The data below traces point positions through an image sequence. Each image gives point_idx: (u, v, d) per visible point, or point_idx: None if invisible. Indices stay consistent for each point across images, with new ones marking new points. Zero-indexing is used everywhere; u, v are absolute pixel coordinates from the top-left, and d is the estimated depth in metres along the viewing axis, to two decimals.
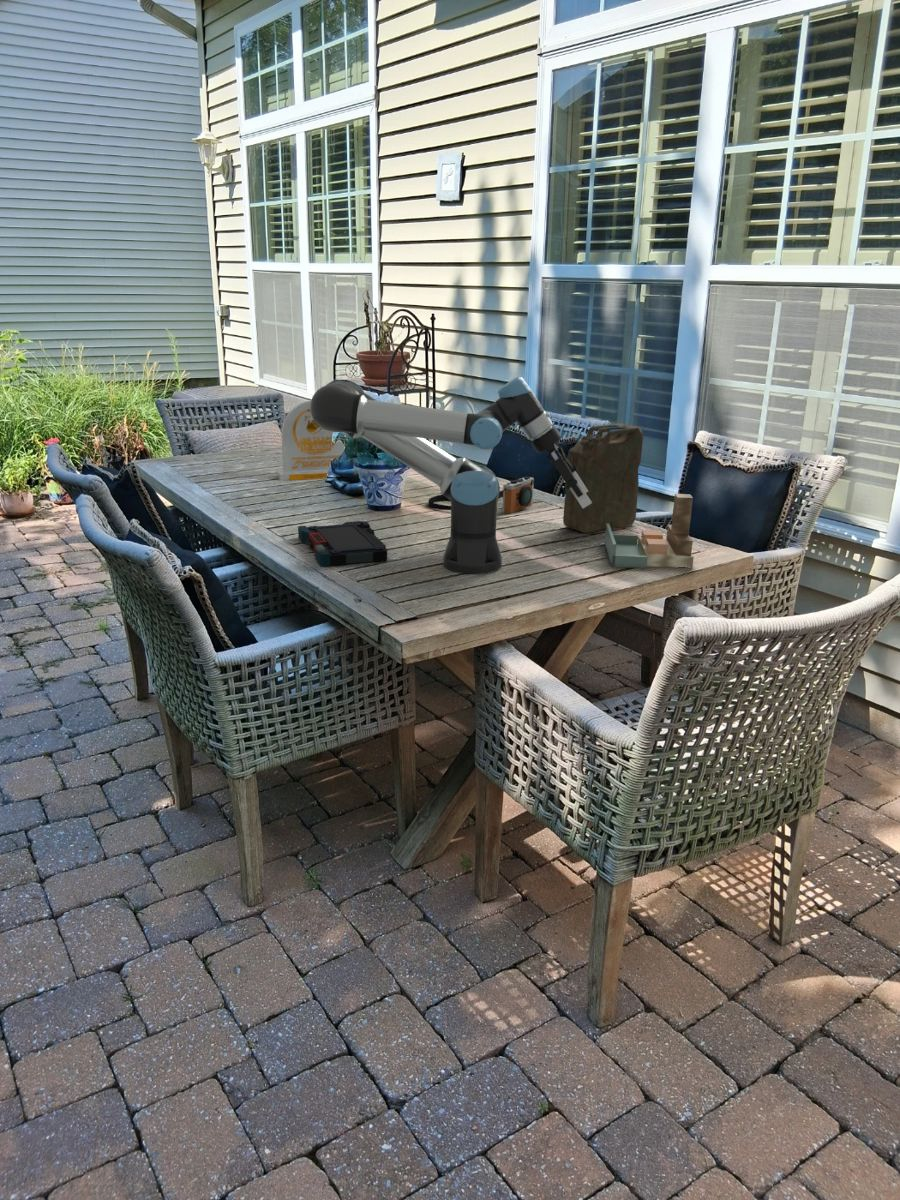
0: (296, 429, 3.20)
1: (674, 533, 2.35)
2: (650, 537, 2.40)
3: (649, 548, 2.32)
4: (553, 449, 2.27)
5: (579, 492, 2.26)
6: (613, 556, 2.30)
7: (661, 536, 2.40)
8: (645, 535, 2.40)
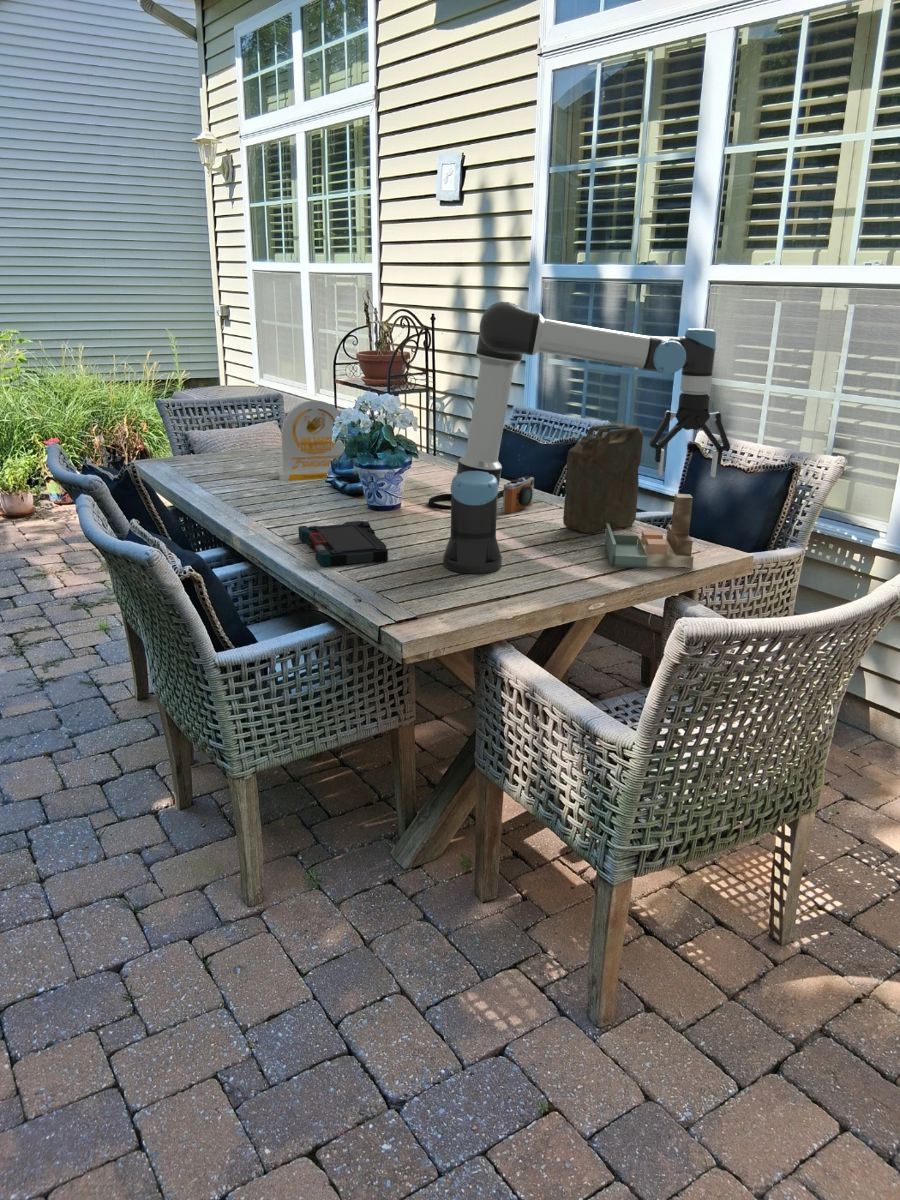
0: (296, 429, 3.20)
1: (674, 533, 2.35)
2: (650, 537, 2.40)
3: (649, 548, 2.32)
4: None
5: None
6: (613, 556, 2.30)
7: (661, 536, 2.40)
8: (645, 535, 2.40)
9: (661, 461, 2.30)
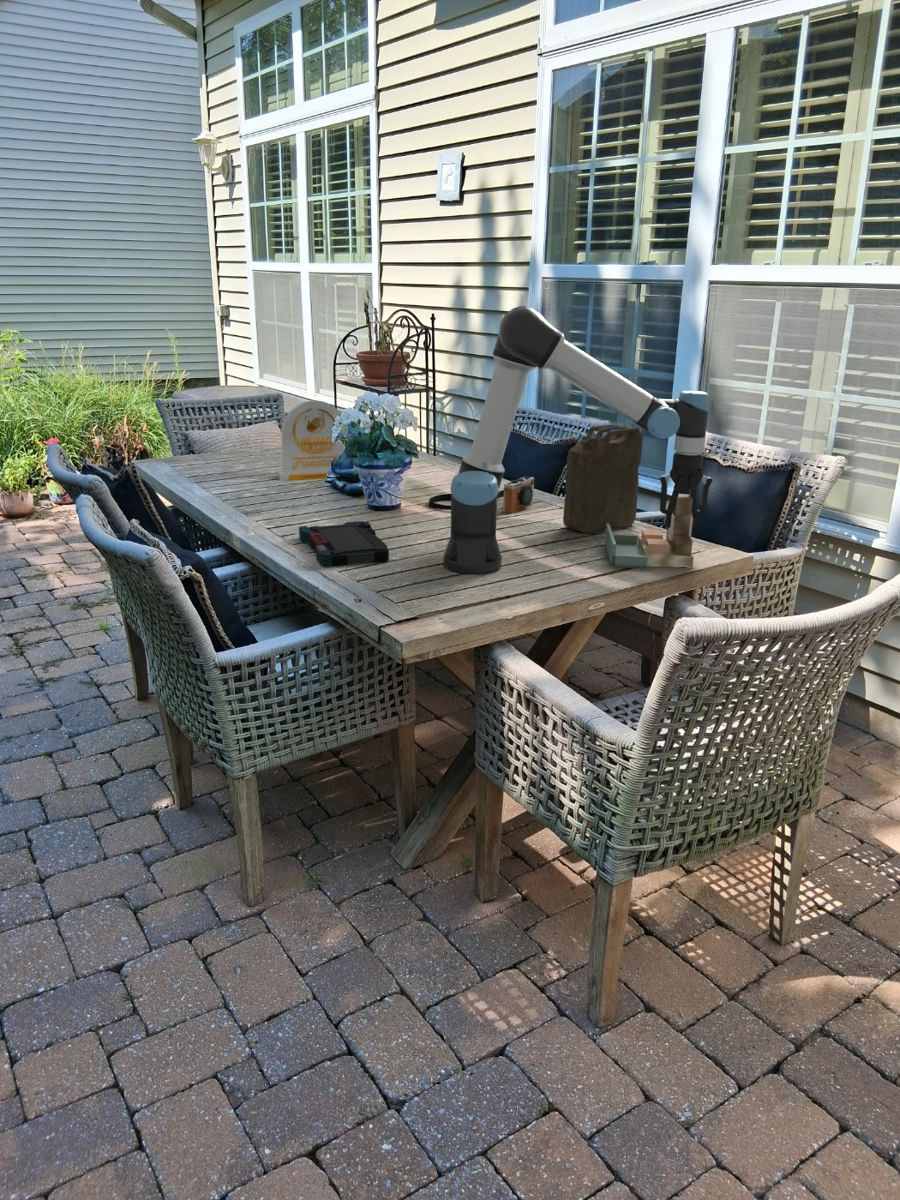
0: (296, 429, 3.20)
1: (674, 533, 2.35)
2: (650, 537, 2.40)
3: (649, 548, 2.32)
4: None
5: None
6: (613, 556, 2.30)
7: (661, 536, 2.40)
8: (645, 535, 2.40)
9: (671, 527, 2.35)
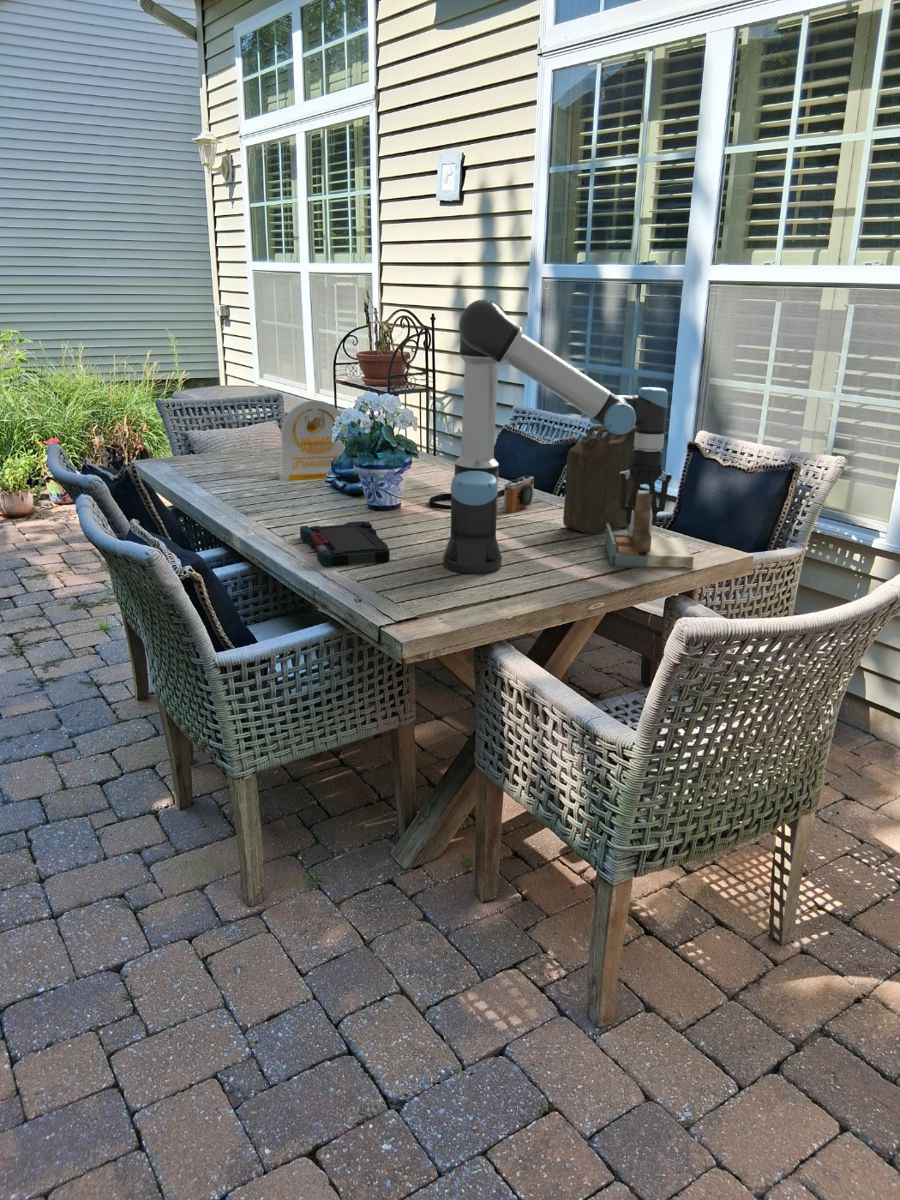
0: (296, 429, 3.20)
1: (634, 529, 2.36)
2: (622, 545, 2.42)
3: None
4: None
5: None
6: (613, 556, 2.30)
7: None
8: (618, 542, 2.42)
9: (631, 523, 2.36)
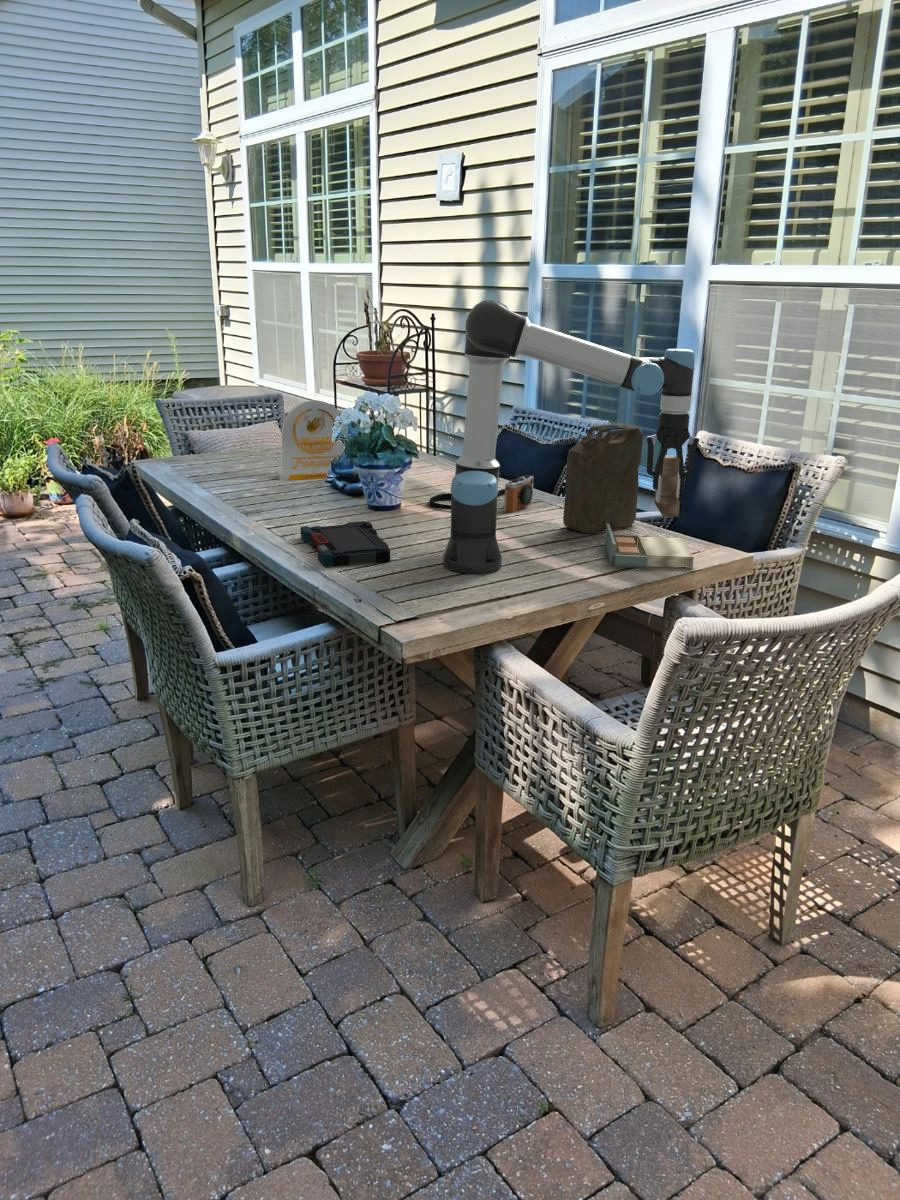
0: (296, 429, 3.20)
1: (661, 495, 2.32)
2: (622, 545, 2.42)
3: None
4: None
5: None
6: (613, 556, 2.30)
7: (633, 543, 2.41)
8: (618, 542, 2.42)
9: (659, 488, 2.32)
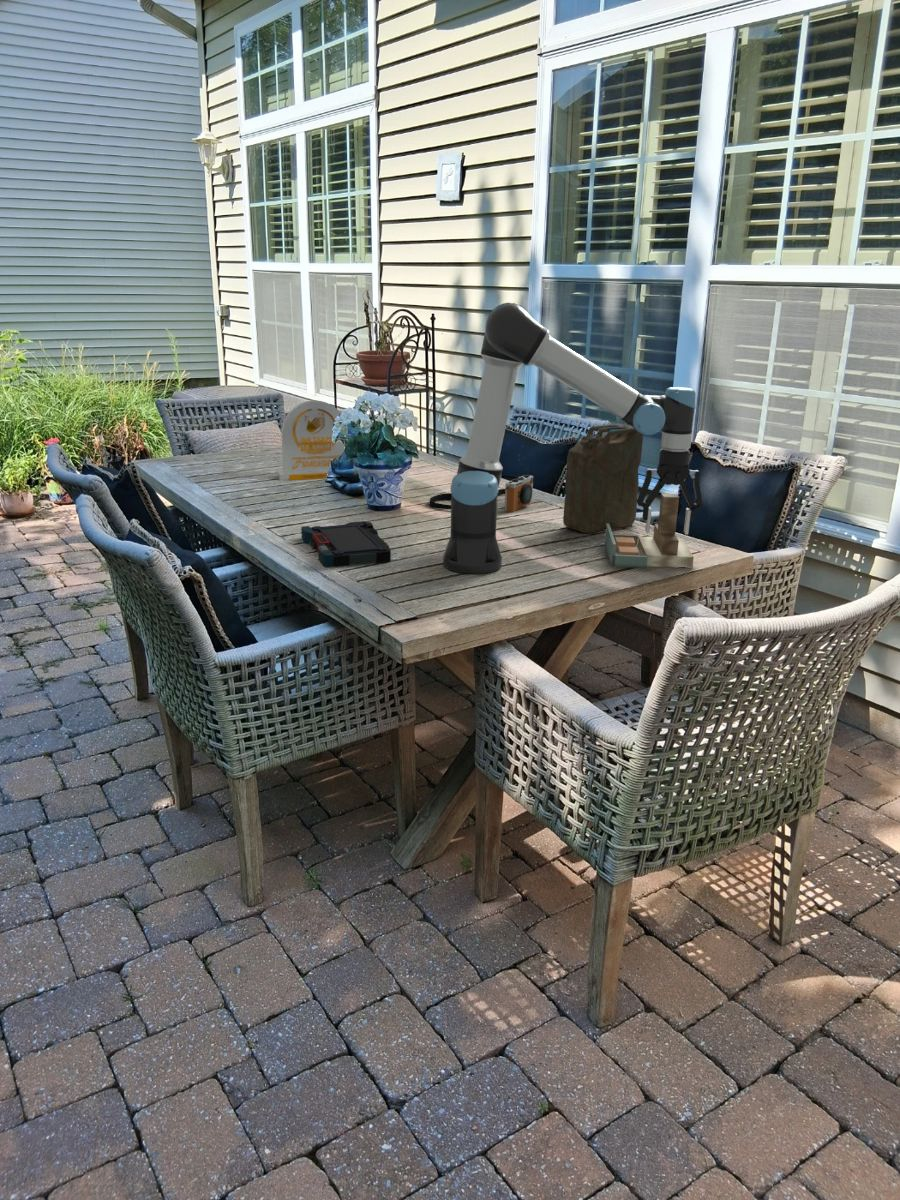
0: (296, 429, 3.20)
1: (660, 532, 2.35)
2: (622, 545, 2.42)
3: None
4: None
5: None
6: (613, 556, 2.30)
7: (633, 543, 2.41)
8: (618, 542, 2.42)
9: (648, 519, 2.35)
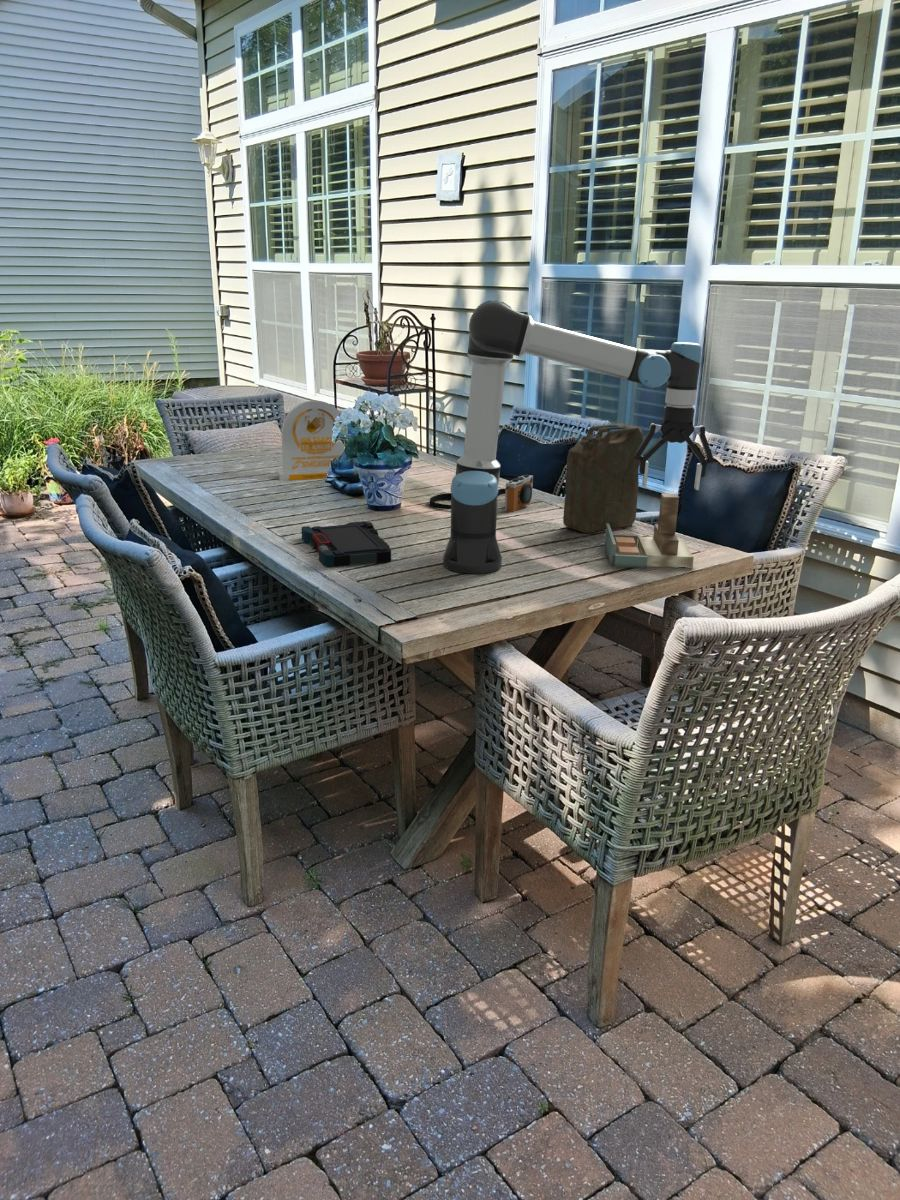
0: (296, 429, 3.20)
1: (660, 532, 2.35)
2: (622, 545, 2.42)
3: None
4: None
5: None
6: (613, 556, 2.30)
7: (633, 543, 2.41)
8: (618, 542, 2.42)
9: (645, 473, 2.31)
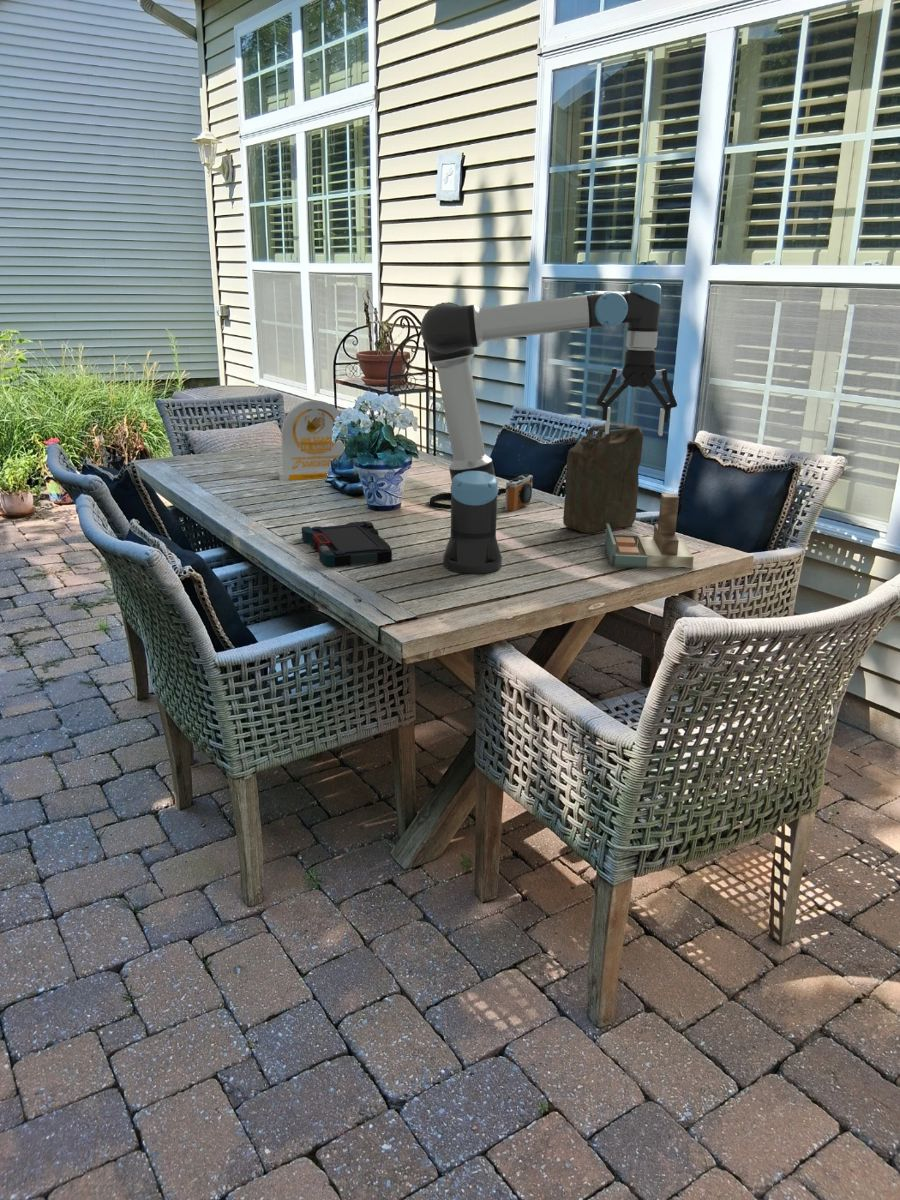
0: (296, 429, 3.20)
1: (660, 532, 2.35)
2: (622, 545, 2.42)
3: None
4: None
5: (667, 417, 2.28)
6: (613, 556, 2.30)
7: (633, 543, 2.41)
8: (618, 542, 2.42)
9: (607, 419, 2.27)
